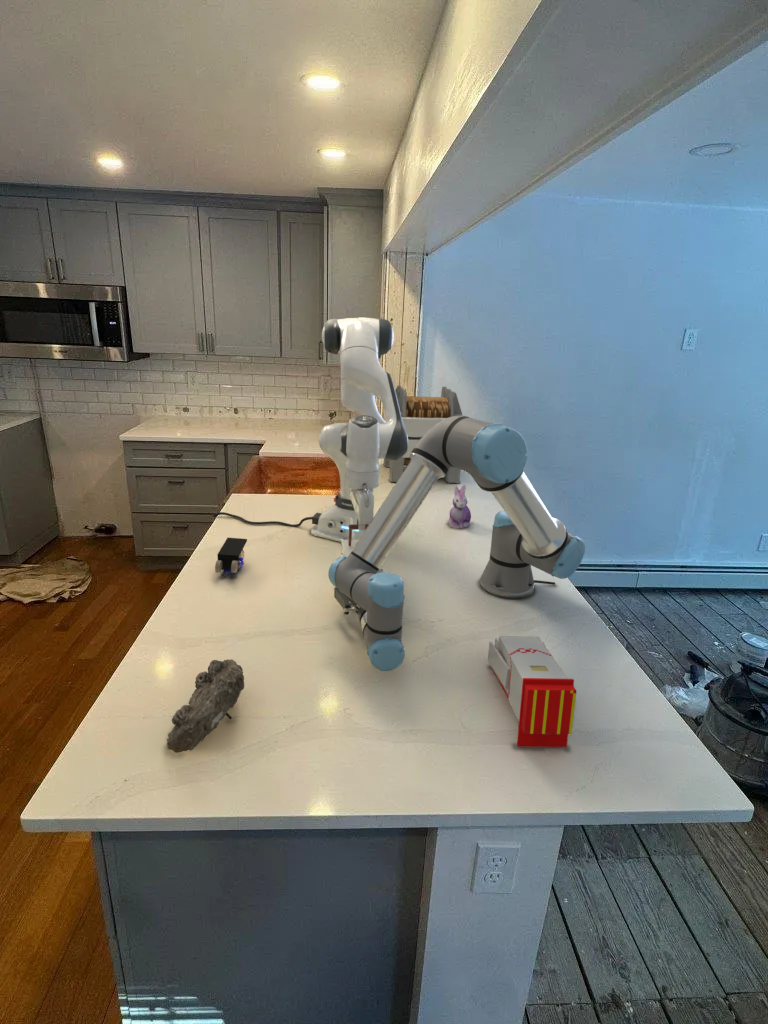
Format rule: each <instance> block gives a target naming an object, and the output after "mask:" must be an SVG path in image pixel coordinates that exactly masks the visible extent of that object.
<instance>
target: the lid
mask: <svg viewBox="0 0 768 1024" xmlns="http://www.w3.org/2000/svg"><path fill="white" fill-rule="evenodd" d="M368 525H369V524H365V530H366V528H367V527H368ZM352 530H359V529H358V524H349V540H342V541H341V542H340V543H341V549H342V553H343V555H344V556H346V557H348V556H349V554H350V553H351V552H352V550H353V548H354V547H355V545H356V544H357V542H358V541H359V540H351V539H352ZM378 572H384V567H383V564H382V565H381V567H380V568H379V570H378Z"/></svg>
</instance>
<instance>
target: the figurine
mask: <svg viewBox="0 0 768 1024" xmlns="http://www.w3.org/2000/svg"><path fill="white" fill-rule="evenodd" d="M466 489H467V485H465V484H463V485H462V486H461V488H460V489H459V488H458V486H457V485H454V486H453V491H454V492H453V493H454V496H453V498H452V505H453V506H452V508H450V510H449V515H448V516H449V518H448V524H449V526H450V527H451V528H454V529H462V528H467V527H469V526H470V523H471V519H472V513H471V510H470V508H469V507H468V503H469V502H468V498H467V496H466Z"/></svg>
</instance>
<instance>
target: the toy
mask: <svg viewBox="0 0 768 1024" xmlns="http://www.w3.org/2000/svg"><path fill="white" fill-rule="evenodd" d="M488 643H489V644H488V651H487V658H486V659H487V662H488V664H489V666H490V668H491V669H492V672H493V674H494V675H495V677H496V679H497V681H498V682H499V684H500V687H501V688H502V691H503V692H504V694H505V697H507V699H508V702H509V705H510V706H511V709H512V710H513V713H514V714H515V717H516V720H517V721H518V728H517V729H518V730H517V741H516V746H517V747H520V748H521V747H522V748H523V747H525V748H527V747H529V748H531V747H532V748H533V747H534V748H545V747H546V748H567V747H568V740H569V735H572V733H573V725H574V716H575V708H576V700H577V689H576V687H575V686H574V685H575V679H574V678H569V677H568V676H567V675H566V673H565V672H564V670H563V669H562V668H561V667H560V665H559V663H558V662H557V661H556V659H555V658H554V656H553V654H552V653H551V652H550V650H549V649H548V648H547V646H546V644H545V642H544V641H543V640H542V639H541V638H540V636H534V635H533V636H532V635H530V636H527V635H526V636H525V635H524V636H523V635H498V637H497V636H496V637H494V643H493V641H489V642H488Z"/></svg>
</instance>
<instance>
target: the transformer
mask: <svg viewBox="0 0 768 1024" xmlns="http://www.w3.org/2000/svg"><path fill="white" fill-rule="evenodd" d="M395 391H396V395H397V399H398V404H399V408H400V412H401V416H402V420H403V423H404V426H405V429H406V433H407V436H408V449H407V452H406V453H405V455H403V456H402V457H401V458H400V459H398V460H397V461H394V460H385V459H383V466H384V467H388V468H389V475H388V476H389V477H388V478H389V480H390V482H391V483H396V482H397V481H398V479H399V478H400V476H401V475H402V473H403V472H404V469H405V466H406V467H407V466H408V464H409V463H410V461H411V459H410V453H411V452H412V450H413V449H414V447H415V446H416V444H417V443H418V442H419V440H420V439H421V438H422V437H423V436H424V435H425V434H426V433H427V432H428V431H429V430H430V429H431V428H432V427H433V426H435V425H436V424H437V423H439V422H440V421H442V420H444V419H446V418H449V417H452V416H463V411H462V408H461V405H460V402H459V398H458V395H457V392H455V391H453V390H452V389H451V388H447V386H442V387H441V392H440V393H441V394H440V396H415V395H414V396H413V395H412V396H411V395H407V394H408V393H407V390H406V389H404V388H403V387H402V385H399V384H398V385H397V386H396V388H395ZM385 421H386V420H385ZM386 422H387V421H386ZM461 472H462V470H461V469H458V468H455V467H452V468H451V469H449V471H448V472H447V474H446V475H445V477H443V478H444V479H445V481H446V482H447V483H449V484H455V483H456V484H459V483H461Z"/></svg>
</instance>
